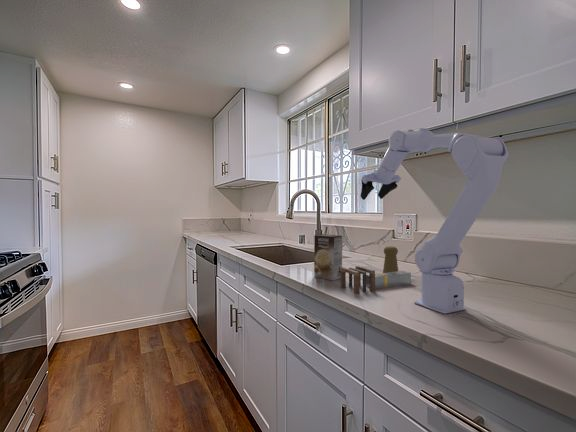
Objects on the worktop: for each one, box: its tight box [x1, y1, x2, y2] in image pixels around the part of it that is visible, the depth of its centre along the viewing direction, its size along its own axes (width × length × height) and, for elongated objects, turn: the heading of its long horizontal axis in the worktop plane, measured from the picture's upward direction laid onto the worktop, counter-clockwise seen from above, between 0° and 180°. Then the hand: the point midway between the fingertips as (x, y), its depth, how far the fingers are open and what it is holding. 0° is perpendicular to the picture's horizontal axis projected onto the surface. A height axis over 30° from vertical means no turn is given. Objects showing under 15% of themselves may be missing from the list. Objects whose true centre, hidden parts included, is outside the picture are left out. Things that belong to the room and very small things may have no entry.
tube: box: [366, 270, 412, 290], centre depth 99 cm, size 16×4×4 cm, turn 113°
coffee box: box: [313, 233, 343, 281], centre depth 110 cm, size 9×6×16 cm
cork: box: [382, 246, 399, 273], centre depth 114 cm, size 6×6×11 cm
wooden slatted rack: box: [339, 265, 376, 295], centre depth 93 cm, size 8×7×6 cm
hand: (371, 197), depth 103 cm, fingers open, 7 cm apart
